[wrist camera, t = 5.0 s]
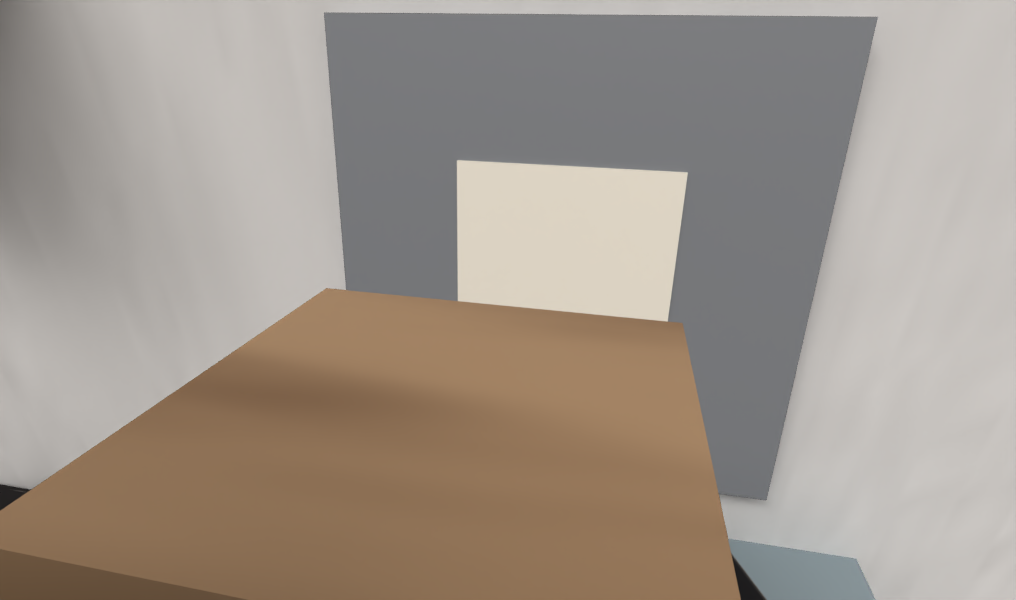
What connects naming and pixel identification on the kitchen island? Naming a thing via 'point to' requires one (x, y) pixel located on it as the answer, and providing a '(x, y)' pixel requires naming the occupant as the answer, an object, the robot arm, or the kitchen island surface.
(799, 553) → the cap block
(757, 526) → the kitchen island surface
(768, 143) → the baseplate
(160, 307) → the kitchen island surface
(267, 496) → the walnut block
